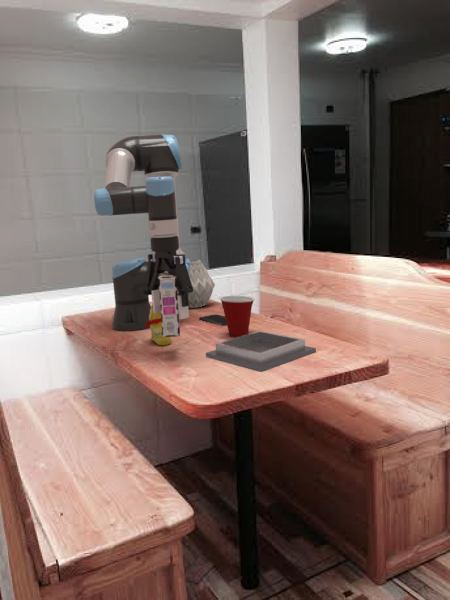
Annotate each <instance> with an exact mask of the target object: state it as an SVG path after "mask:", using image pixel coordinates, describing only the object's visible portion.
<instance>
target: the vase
mask: <svg viewBox="0 0 450 600" xmlns="http://www.w3.org/2000/svg"><path fill="white" fill-rule="evenodd" d="M189 260H190V268H189V277H190V280H191V284H192V287H193V292H191V293H189V294H188V301H189V306H188V309H198V308H199V307H201V308H203V307H202V306H205V305H206V306H207V305H208V302H209V301H210V299H211V297H212V293H213V292H214V288H215V286H216V284H215V282H214V280H213V278H212V277H211V276H210V274H209V271H208V269H207V268H206V266H204V264H203V262H202V260H201V259H189ZM206 306H205V307H206ZM197 307H198V308H197Z"/></svg>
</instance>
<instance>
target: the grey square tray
mask: <svg viewBox="0 0 450 600" xmlns="http://www.w3.org/2000/svg"><path fill="white" fill-rule="evenodd" d="M316 351H317V349H316V347H313V346H307V345H306V339H303V338H298V337H293V336H289V335H285V334H284V335H283V334H279V333H278V334H277V333H274V332H273V333H272V332H270V331H269V332H268V331H263V330H257V331H253V332H251V333H248V334H246V335H243V336H240V337H232V338H230V339H226V340H223V341H220V342H217V343H215V350H211V351H207V352H206V353H205V357H206V358H210V359H214V360H217V361H221V362H224V363H228V364H231V365H235V366H239V367H242V368H246V369H249V370H254V371H257V372H264V371H267V370H270V369H273V368H275V367H278V366H281V365H283V364H287V363H288V362H292V361H294V360H297V359H300V358H303V357H305V356H308V355H310V354H311V355H312V354H313V353H316Z"/></svg>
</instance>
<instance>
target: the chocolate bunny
mask: <svg viewBox="0 0 450 600" xmlns="http://www.w3.org/2000/svg"><path fill="white" fill-rule="evenodd" d="M150 306H151V309H150V313H149V321H147V323H146V324H145V327H146V328H145V329H146V330H148V329H150V333H151V334H150V335H151V339H152V341H153V342H155V343H156V344H157V345H158V346H168V345H170V344H171V343H172V337H163V333H162V319H161V312H159V313H154V312H153V304H152V305H150ZM149 324H150V327H149ZM148 327H149V328H148Z"/></svg>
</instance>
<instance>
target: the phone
mask: <svg viewBox="0 0 450 600" xmlns="http://www.w3.org/2000/svg"><path fill="white" fill-rule="evenodd" d="M198 320H199V321H200V320H202V321H201V322H204V321H205V322H204V323H208V322H209V324H212V325H217V326H219V325H220V327H225V326H227V324H226V319H225V315H222V314H221V315H220V314H217V313H216V314H215V313H214V314H210V315H205V316H200V317H198Z"/></svg>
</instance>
